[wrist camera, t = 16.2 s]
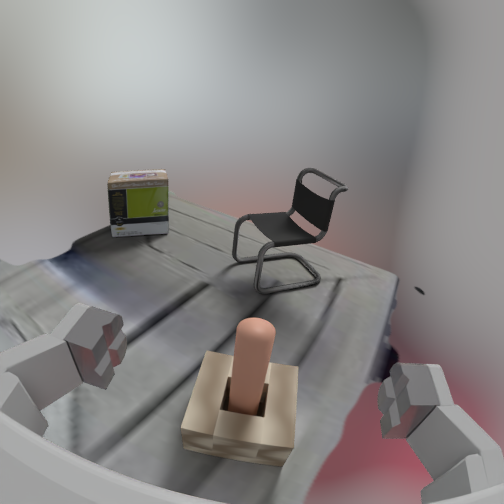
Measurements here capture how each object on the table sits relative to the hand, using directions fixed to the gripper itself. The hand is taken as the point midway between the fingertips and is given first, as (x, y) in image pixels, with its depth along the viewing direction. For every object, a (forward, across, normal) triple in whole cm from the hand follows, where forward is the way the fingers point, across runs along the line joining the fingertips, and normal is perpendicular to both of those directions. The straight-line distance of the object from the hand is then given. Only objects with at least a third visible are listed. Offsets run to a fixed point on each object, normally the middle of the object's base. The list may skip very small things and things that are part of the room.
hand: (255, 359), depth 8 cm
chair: (+52, +2, -30) cm, 60 cm away
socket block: (+15, 0, -30) cm, 34 cm away
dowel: (+15, 0, -28) cm, 32 cm away
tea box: (+62, -35, -30) cm, 77 cm away
